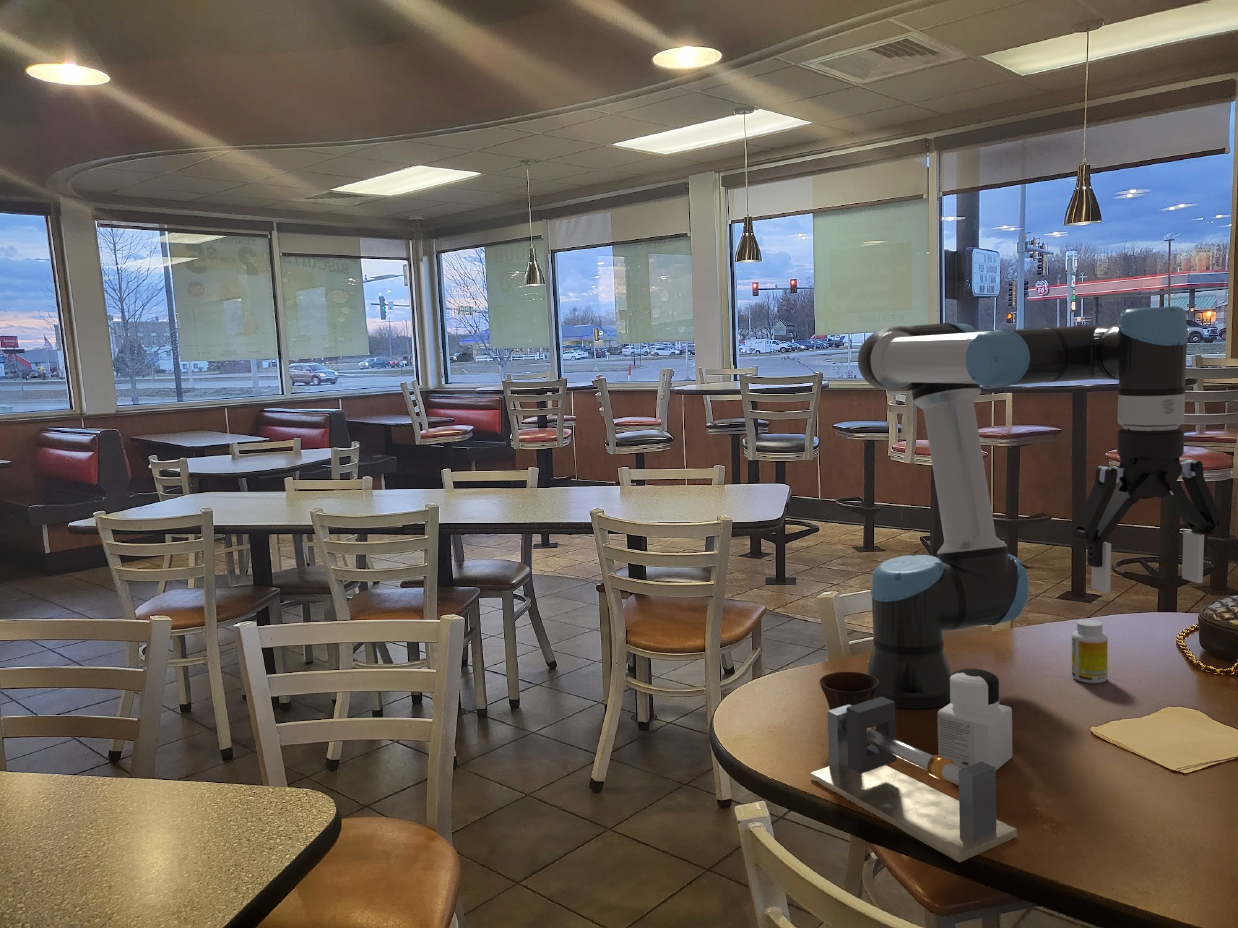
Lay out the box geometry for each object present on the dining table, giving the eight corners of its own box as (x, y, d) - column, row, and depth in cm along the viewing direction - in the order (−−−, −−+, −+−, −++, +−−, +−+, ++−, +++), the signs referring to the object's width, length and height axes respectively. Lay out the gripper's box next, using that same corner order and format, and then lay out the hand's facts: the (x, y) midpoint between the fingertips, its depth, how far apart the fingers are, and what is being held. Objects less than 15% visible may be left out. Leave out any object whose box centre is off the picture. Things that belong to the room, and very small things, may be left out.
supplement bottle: (1114, 682, 158) (1115, 624, 157) (1087, 686, 157) (1087, 628, 156) (1091, 671, 164) (1091, 616, 163) (1064, 675, 163) (1064, 620, 162)
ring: (848, 767, 125) (846, 707, 124) (883, 754, 128) (881, 696, 127) (860, 773, 123) (859, 712, 122) (896, 761, 126) (894, 701, 125)
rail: (810, 779, 129) (808, 714, 128) (863, 760, 134) (861, 698, 133) (959, 862, 107) (958, 784, 106) (1016, 836, 111) (1016, 762, 110)
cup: (813, 746, 138) (815, 680, 138) (822, 730, 147) (824, 668, 147) (874, 754, 135) (876, 686, 135) (879, 737, 144) (881, 674, 144)
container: (961, 743, 138) (960, 660, 136) (1013, 757, 132) (1012, 671, 131) (937, 761, 133) (935, 675, 131) (990, 776, 127) (989, 686, 126)
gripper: (1082, 436, 114) (1080, 601, 116) (1258, 422, 117) (1252, 583, 120) (1045, 430, 121) (1044, 586, 124) (1212, 418, 125) (1207, 569, 128)
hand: (1146, 585), depth 122 cm, fingers open, 13 cm apart
